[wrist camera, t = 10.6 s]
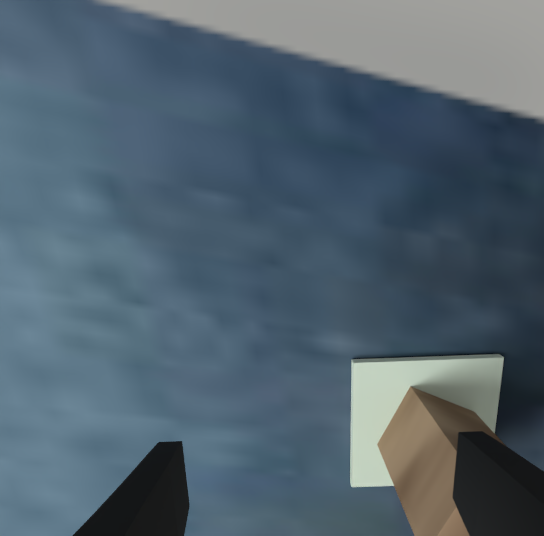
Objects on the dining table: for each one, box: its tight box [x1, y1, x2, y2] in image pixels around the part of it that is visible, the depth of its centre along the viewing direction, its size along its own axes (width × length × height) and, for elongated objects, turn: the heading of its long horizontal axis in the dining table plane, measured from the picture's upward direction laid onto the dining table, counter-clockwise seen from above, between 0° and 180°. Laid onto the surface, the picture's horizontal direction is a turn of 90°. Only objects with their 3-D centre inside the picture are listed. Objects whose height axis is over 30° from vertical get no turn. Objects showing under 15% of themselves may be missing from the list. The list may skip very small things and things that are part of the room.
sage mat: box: [350, 354, 504, 487], centre depth 19 cm, size 8×8×1 cm
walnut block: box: [377, 386, 506, 536], centre depth 16 cm, size 4×4×6 cm
